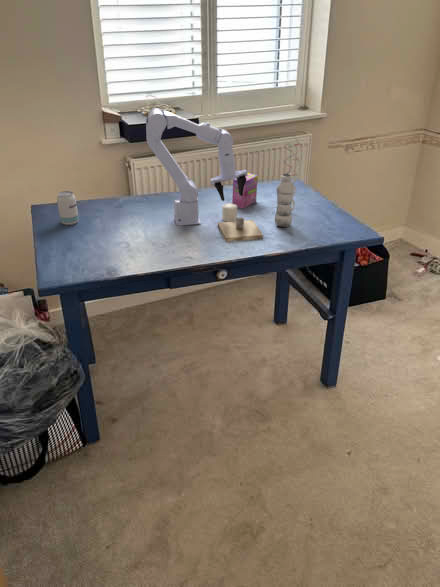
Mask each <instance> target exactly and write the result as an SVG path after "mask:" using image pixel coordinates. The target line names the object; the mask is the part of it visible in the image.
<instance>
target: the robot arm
mask: <svg viewBox="0 0 440 587" xmlns="http://www.w3.org/2000/svg"><path fill="white" fill-rule="evenodd" d="M145 126H146V127H145V130H146V131H145V132H146V143H147V146H149V149H150V150H151V151H152V152H153V154H154V155H155V156H156V158H157V159H158V161H159V162H160V164H161V165H162V166H163V168H164V169H165V170H166V172H167V173H168V175H169V176H170V178H172V180H173V181H174V183H175V184H176V187H177V188H178V190H179V192H180V194H181V195H180V197H179V198H178V199H175V200H174V201H173V209H174V211H173V212H174V215H173V216H174V220H175V224H176V226H189V225H201V224H202V222H201V220H200V217H199V216H200V215H199V214H200V213H199V192H198V189H197V186H196V183H195V181H193V180H192V179H191V178H189V177H188V176H187V175H186V174H185V172H184V171H183V170H182V168H181V166H180V165H179V164H178V163H177V160H175V158H174V156H172V154H171V153H170V151H169V150H168V148H167V147H166V145H165V144H164V142H163V141H162V135H163V132H164V131H165V129H166V128H167V130H170V129H172V128H175V127H176V128H179V129H182V130H185V131H186V132H191V133H193V134H195V135H196V138H197V139H199V140H202V141H204V142H206V143H209V144H211V145H212V144H213V145H217V151H218V152H217V155H218V156H217V157H218V162H219V168H220V174H219V175H218V176H216V177H215V176H214V177H213V178H210V181H209V182H210V184H211V185H212V186H214V187H215V189H216V191H217V192H218V195H219V197H220V200H221V201H222V202H224V201H225V195H224V185H223V184H222V183H224V182H227V181H233V179H235V178H236V179H237V183H238V190H239V195H241V196H243V189H244V185H245V182H246V177H245V176H248V173H249V172H248V170H246V169H242V170H236V162H235V154H234V150H233V149H234V148H233V145H234V139H233V136H232V135H231V134H230V132H229V131H228V130H226V129H225V128H224V129H223V128H221V127H214V126H213V125H211V123H210V122H206V123H205V122H201V123H199V124H198V123H196V122H194V121H191V120H189V119H187V118H184V117H183V116H180V115H178V114H175V113H172V112H170V111H167V110H164V109H163V110H162V109H161V108H157V107H155V108H152V109H150V110H149V111H148V113H147V117H146V120H145Z"/></svg>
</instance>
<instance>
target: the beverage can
mask: <svg viewBox="0 0 440 587" xmlns="http://www.w3.org/2000/svg"><path fill="white" fill-rule="evenodd" d="M56 204H57V210H58V215H59V219H60V223H61V224H62V225H64V226H74V225H76V224H77V223H78V222H79V220H80V219H79V218H80V217H79V212H78V206H77V205H78V204H77V198H76V196H75V194H74V192H73V191H71V190H64V191H59V192H58V193H57V196H56Z"/></svg>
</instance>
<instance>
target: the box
mask: <svg viewBox="0 0 440 587" xmlns="http://www.w3.org/2000/svg"><path fill="white" fill-rule="evenodd" d="M247 173H248V176H245V177H246V182H245V185H244V189H243V196H241V195H239V190H238V183H237V179H236V178H235V179H233V180H232V202H231V204H236V206H237V208H239V209H245V208H247V207H248V206H251V205H253V204H254V203H256V202H257V194H258V193H257V192H258V179H259V178H258V177H259V176H258V175H257V174H254V173H249V172H247Z"/></svg>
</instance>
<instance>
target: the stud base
mask: <svg viewBox="0 0 440 587" xmlns="http://www.w3.org/2000/svg"><path fill="white" fill-rule="evenodd" d="M217 227H218V229H219V231H220V234H221V235H222V237H223V239H224V241H225V242H237V241H238V242H239V241H249V240H251V241H252V240H260V239H261V240H262V239H263V238H264V234H263V233H262V231H261V230H260V228H259V227H258V225H257V224H256V222H255V221H254V220H253V219H248V220H245V219H244V217H242V216H240V217H239V216H237V218H236V220H235V221H233V222H227V221H221V222H217Z"/></svg>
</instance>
